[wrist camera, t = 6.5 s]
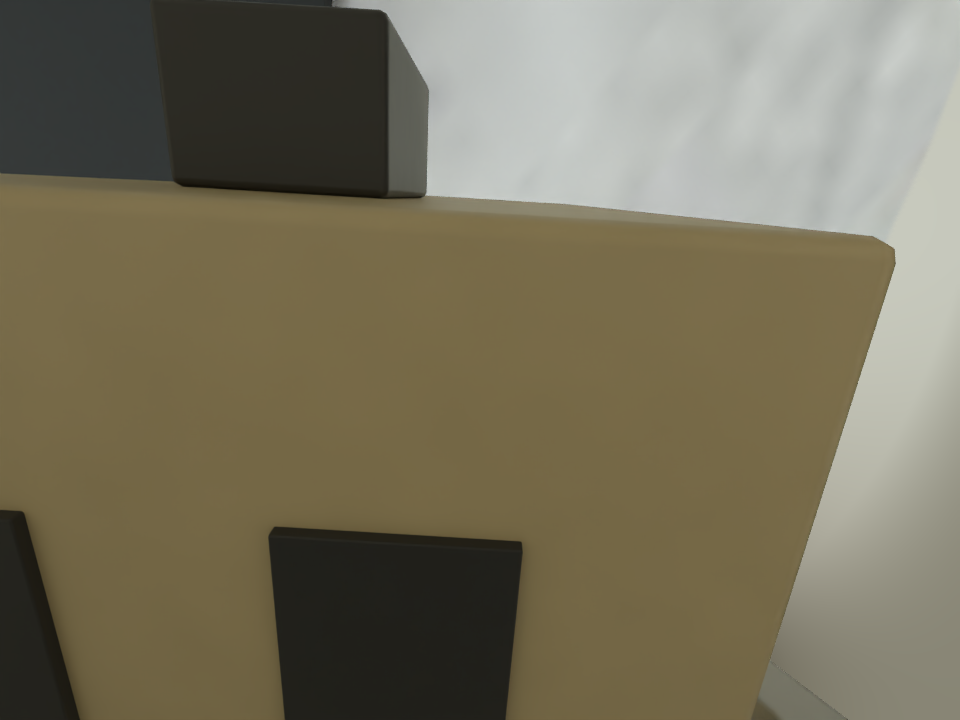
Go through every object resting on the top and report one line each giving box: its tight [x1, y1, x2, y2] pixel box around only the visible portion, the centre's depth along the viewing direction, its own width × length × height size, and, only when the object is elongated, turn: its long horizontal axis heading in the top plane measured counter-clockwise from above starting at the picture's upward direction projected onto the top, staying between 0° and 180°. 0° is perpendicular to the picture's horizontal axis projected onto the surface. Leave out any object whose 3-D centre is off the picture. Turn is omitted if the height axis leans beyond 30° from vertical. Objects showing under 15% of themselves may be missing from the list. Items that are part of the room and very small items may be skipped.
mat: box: [0, 0, 332, 182], centre depth 21 cm, size 20×14×1 cm
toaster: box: [0, 0, 896, 720], centre depth 8 cm, size 13×6×9 cm, turn 177°
